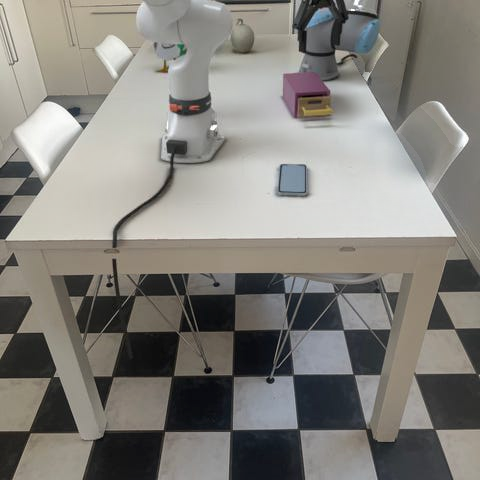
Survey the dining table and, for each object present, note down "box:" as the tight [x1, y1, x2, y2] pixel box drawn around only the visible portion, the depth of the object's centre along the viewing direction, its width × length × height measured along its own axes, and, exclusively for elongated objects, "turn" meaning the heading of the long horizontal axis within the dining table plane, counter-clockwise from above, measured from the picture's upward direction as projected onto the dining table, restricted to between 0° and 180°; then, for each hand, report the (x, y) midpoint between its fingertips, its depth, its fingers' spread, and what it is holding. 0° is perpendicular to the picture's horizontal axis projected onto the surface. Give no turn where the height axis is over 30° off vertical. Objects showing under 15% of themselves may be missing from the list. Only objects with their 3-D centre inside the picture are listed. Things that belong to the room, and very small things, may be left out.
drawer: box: [296, 94, 334, 119], centre depth 168 cm, size 24×10×6 cm, turn 7°
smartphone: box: [277, 163, 308, 197], centre depth 132 cm, size 7×1×15 cm
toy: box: [153, 42, 187, 73], centre depth 204 cm, size 8×20×24 cm, turn 69°
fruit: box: [230, 18, 255, 53], centre depth 228 cm, size 10×12×15 cm
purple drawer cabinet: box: [282, 72, 331, 119], centre depth 174 cm, size 20×11×8 cm, turn 7°
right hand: (319, 48), depth 162 cm, fingers open, 13 cm apart
